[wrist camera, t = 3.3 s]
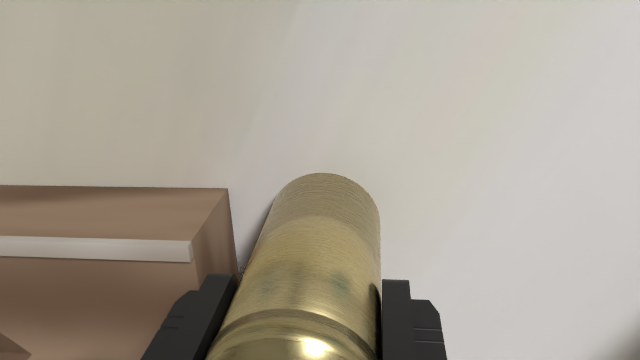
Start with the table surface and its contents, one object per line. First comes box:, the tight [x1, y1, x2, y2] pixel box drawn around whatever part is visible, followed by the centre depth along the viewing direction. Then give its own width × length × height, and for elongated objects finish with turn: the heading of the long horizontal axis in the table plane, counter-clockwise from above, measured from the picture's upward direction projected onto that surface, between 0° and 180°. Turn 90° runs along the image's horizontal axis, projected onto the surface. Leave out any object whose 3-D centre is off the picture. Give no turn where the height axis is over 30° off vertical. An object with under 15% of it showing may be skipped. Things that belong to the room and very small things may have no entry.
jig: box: [0, 185, 239, 360], centre depth 21 cm, size 13×18×4 cm
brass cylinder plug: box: [204, 173, 382, 360], centre depth 14 cm, size 4×4×8 cm
